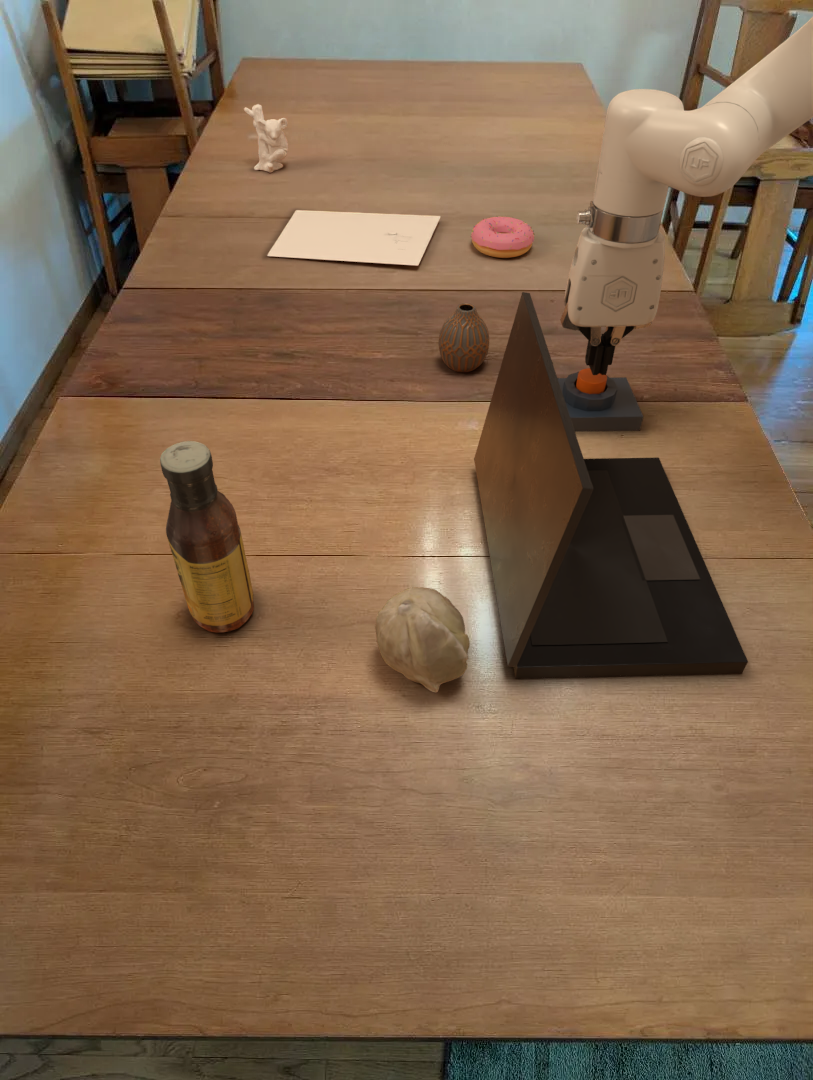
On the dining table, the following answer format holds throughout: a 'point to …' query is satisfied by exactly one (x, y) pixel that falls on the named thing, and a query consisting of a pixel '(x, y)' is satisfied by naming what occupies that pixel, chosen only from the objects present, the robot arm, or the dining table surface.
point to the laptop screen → (528, 479)
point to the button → (591, 382)
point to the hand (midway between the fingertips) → (596, 369)
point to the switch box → (602, 406)
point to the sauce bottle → (205, 541)
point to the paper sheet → (356, 237)
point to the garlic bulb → (423, 637)
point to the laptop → (631, 589)
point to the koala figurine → (269, 139)
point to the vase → (464, 339)
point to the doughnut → (502, 237)
